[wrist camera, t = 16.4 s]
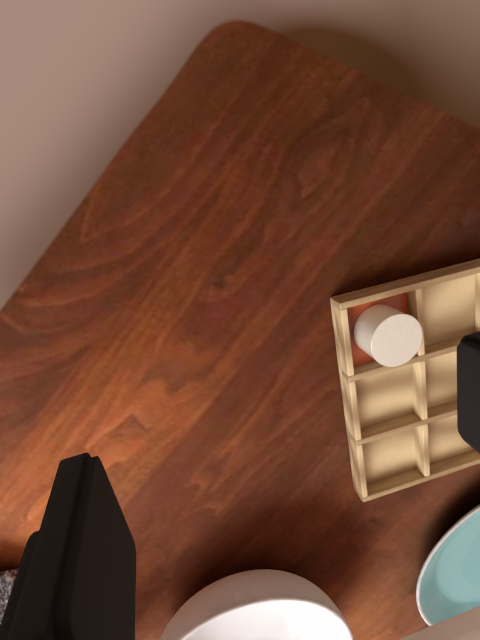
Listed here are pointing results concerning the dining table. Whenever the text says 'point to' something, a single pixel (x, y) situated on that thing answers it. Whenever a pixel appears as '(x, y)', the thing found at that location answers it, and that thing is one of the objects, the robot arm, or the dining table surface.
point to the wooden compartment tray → (407, 382)
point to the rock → (6, 588)
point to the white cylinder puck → (388, 335)
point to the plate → (451, 572)
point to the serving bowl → (258, 610)
